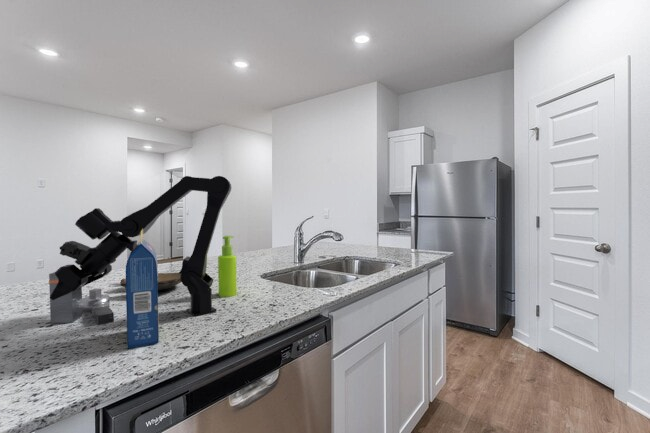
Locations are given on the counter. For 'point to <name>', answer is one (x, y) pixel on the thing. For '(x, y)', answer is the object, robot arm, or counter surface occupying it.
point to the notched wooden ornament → (163, 280)
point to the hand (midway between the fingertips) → (61, 294)
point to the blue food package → (142, 296)
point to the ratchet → (98, 306)
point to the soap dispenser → (227, 270)
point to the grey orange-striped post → (65, 304)
